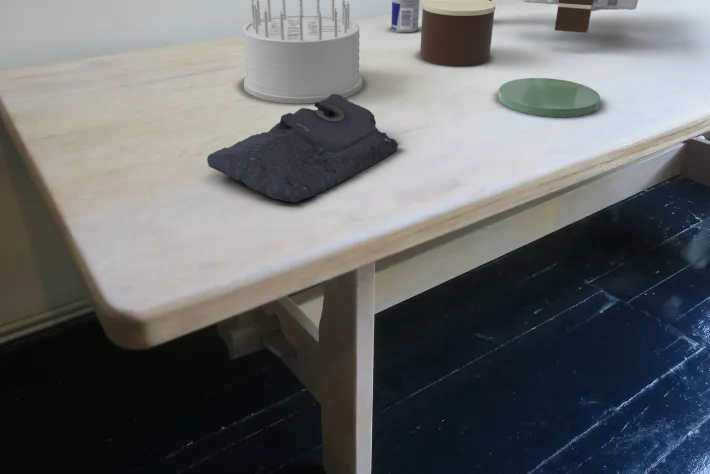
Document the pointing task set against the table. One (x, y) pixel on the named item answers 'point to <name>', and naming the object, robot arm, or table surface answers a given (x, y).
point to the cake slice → (573, 15)
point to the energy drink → (405, 15)
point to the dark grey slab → (307, 151)
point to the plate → (549, 97)
